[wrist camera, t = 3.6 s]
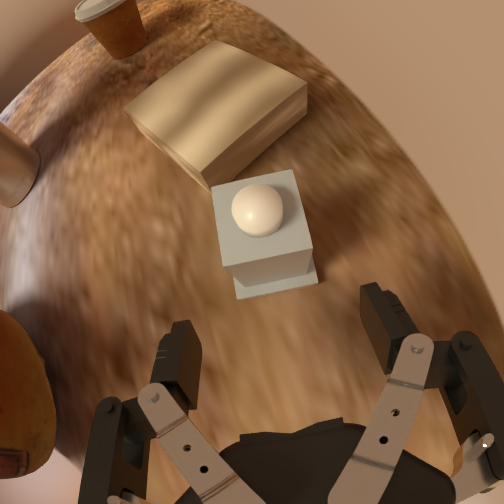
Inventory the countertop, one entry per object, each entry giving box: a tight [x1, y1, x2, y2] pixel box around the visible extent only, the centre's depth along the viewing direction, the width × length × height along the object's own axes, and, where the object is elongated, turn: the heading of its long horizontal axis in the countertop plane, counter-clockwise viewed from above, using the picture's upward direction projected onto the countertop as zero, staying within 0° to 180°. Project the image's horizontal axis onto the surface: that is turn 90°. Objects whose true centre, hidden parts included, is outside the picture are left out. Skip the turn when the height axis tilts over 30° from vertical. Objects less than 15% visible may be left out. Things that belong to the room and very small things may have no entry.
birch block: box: [123, 40, 308, 195], centre depth 27 cm, size 13×13×5 cm
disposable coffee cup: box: [75, 0, 147, 59], centre depth 31 cm, size 10×10×12 cm
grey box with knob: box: [211, 169, 318, 301], centre depth 20 cm, size 6×6×10 cm
